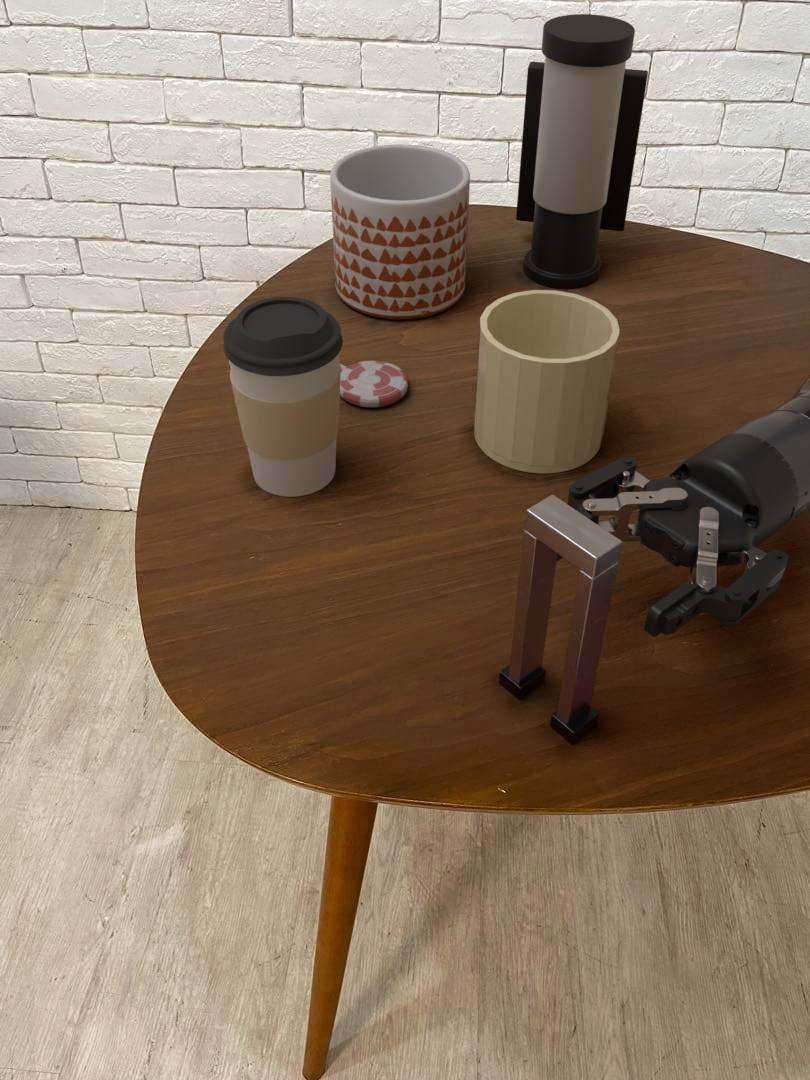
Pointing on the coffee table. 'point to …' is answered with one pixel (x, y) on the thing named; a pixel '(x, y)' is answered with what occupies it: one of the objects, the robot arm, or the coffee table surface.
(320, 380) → the coffee cup
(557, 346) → the crock
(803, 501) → the robot arm
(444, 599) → the coffee table surface
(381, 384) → the lollipop
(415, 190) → the planter
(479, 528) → the coffee table surface
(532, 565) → the tongs
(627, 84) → the light fixture
